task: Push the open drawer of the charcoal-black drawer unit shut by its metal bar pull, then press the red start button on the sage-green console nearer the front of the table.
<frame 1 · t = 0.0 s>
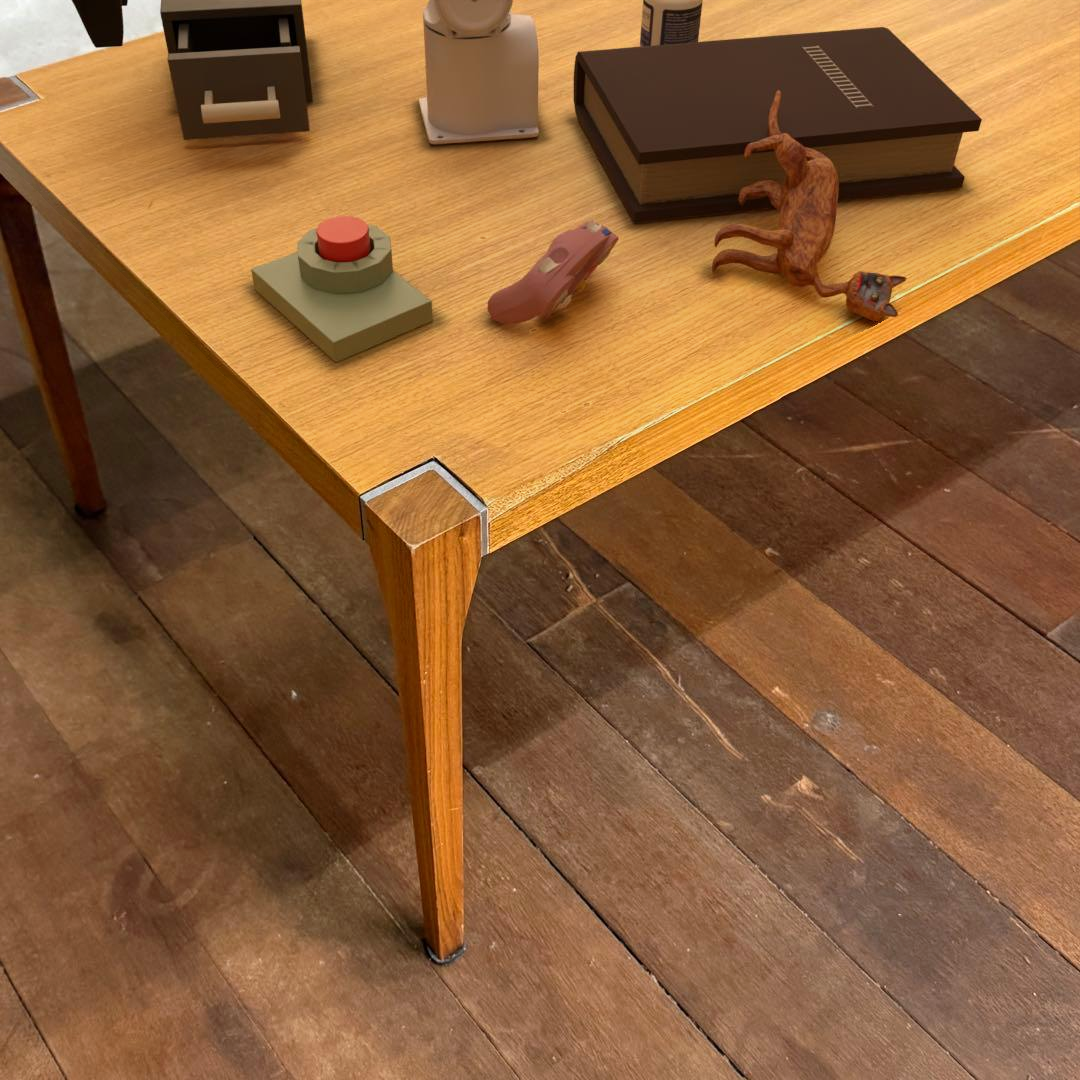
hand: (111, 24, 95), 10 cm above the table, tool pointing down, fingers open, 7 cm apart
pill bottle: (666, 69, 114), on the table
video game controller: (554, 303, 87), on the table
book: (758, 149, 103), on the table, touching cat figurine
console: (342, 304, 86), on the table
drawer: (240, 77, 101), point 4 cm above the table, slide at 6.0 cm
start button: (343, 240, 85), point 4 cm above the table, slide at 0.1 cm
cat figurine: (732, 181, 90), point 5 cm above the table, touching book
cabinet: (245, 75, 111), on the table
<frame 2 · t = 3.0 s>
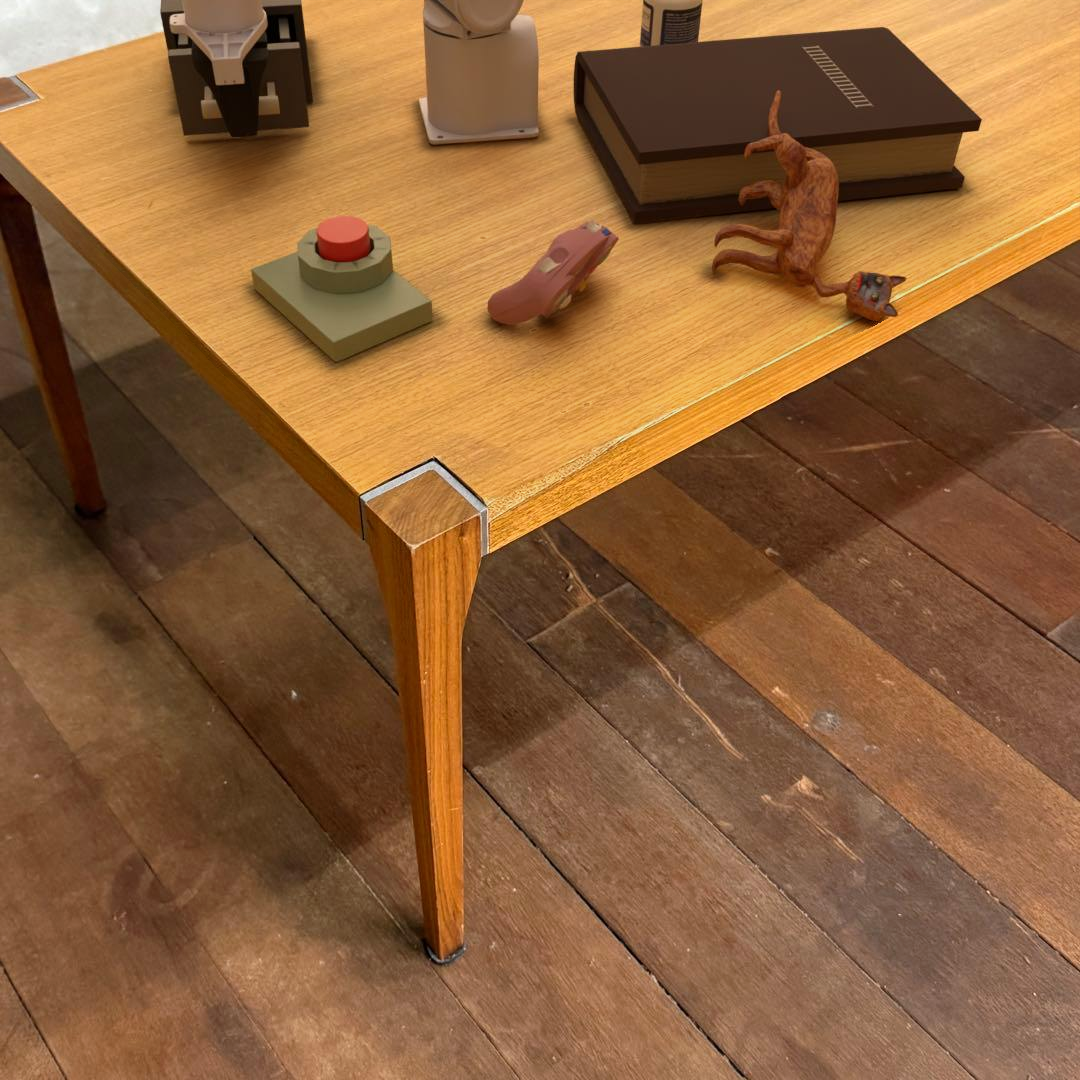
hand: (243, 133, 97), 3 cm above the table, tool pointing down, fingers closed
drawer: (240, 73, 102), point 4 cm above the table, slide at 5.2 cm, touching gripper
everything else where it was.
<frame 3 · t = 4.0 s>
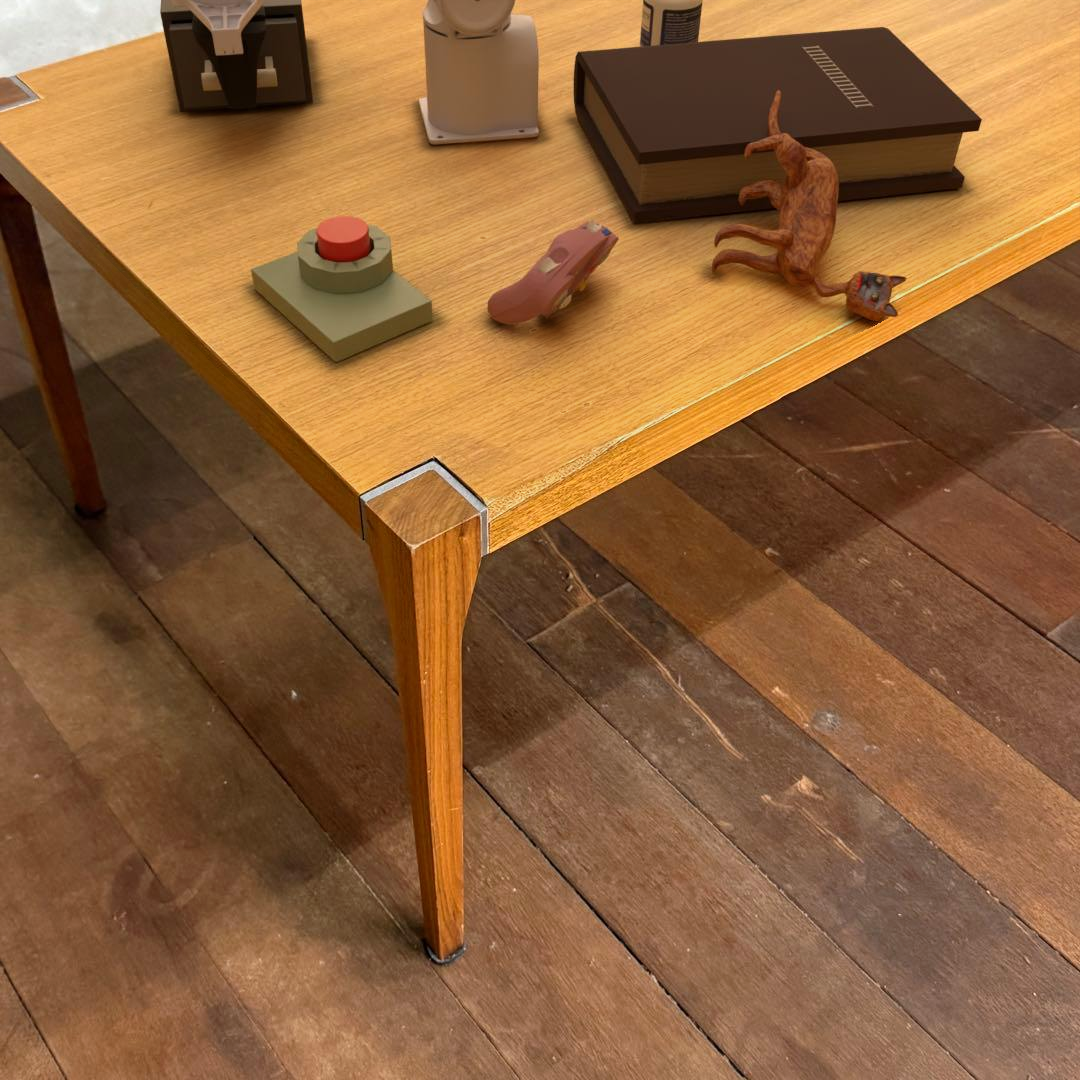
hand: (242, 104, 100), 3 cm above the table, tool pointing down, fingers closed, pressing on drawer
drawer: (239, 48, 105), point 4 cm above the table, slide at 0.2 cm, touching gripper
everything else where it was.
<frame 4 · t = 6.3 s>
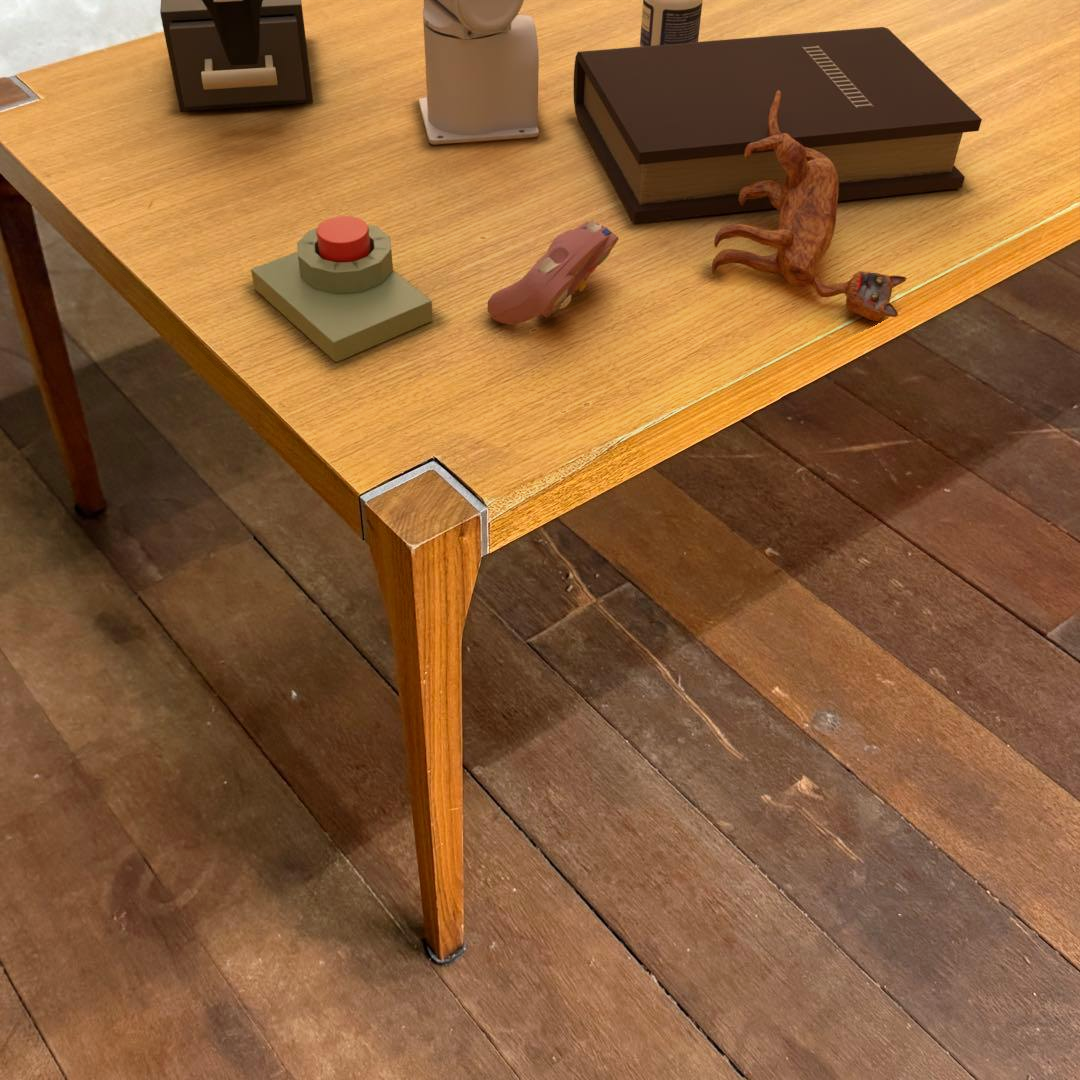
hand: (244, 61, 93), 9 cm above the table, tool pointing down, fingers closed
drawer: (239, 47, 106), point 4 cm above the table, slide at 0.0 cm, touching cabinet
everything else where it was.
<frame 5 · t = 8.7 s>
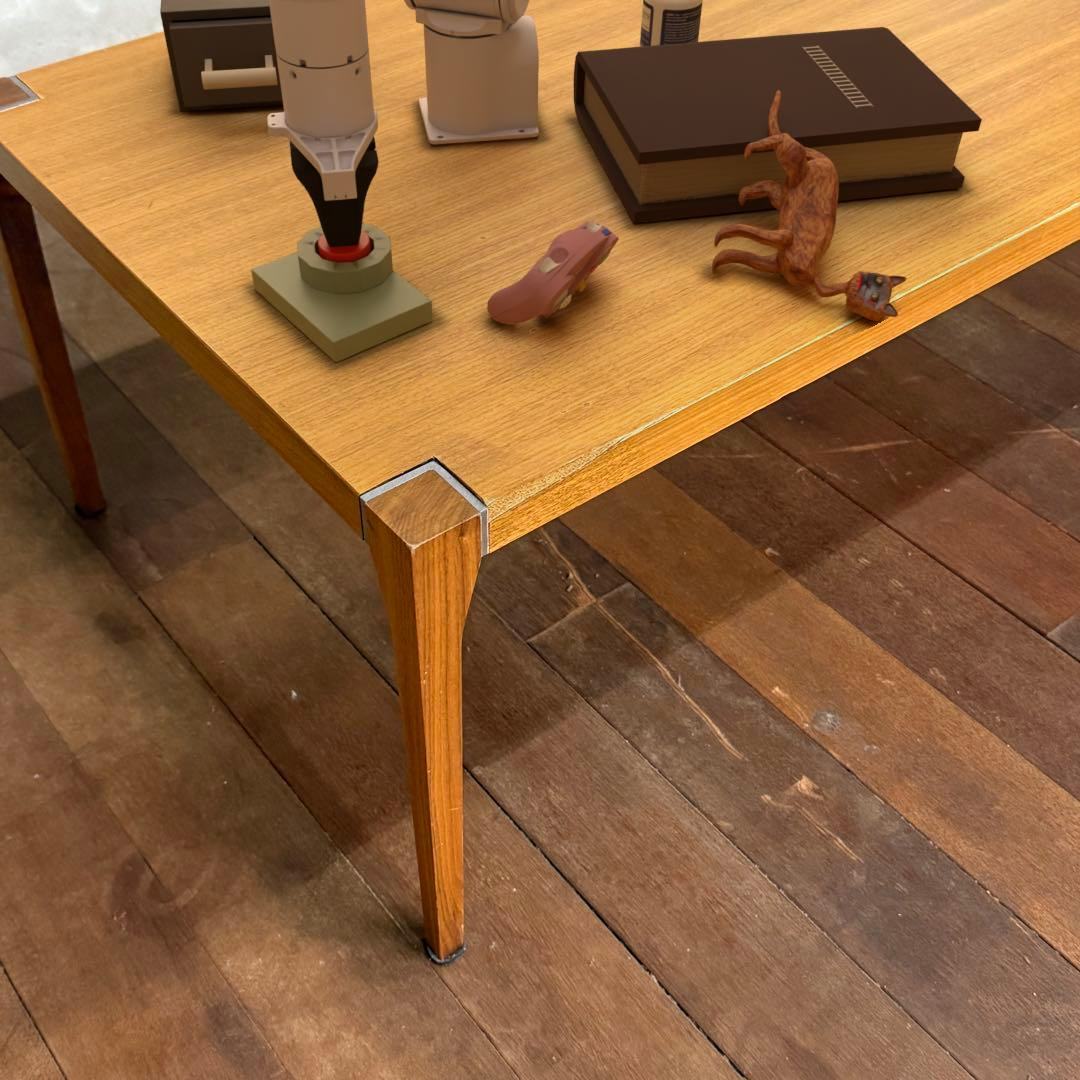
hand: (343, 241, 85), 4 cm above the table, tool pointing down, fingers closed, pressing on start button
start button: (344, 251, 85), point 3 cm above the table, slide at -0.8 cm, touching gripper
everything else where it was.
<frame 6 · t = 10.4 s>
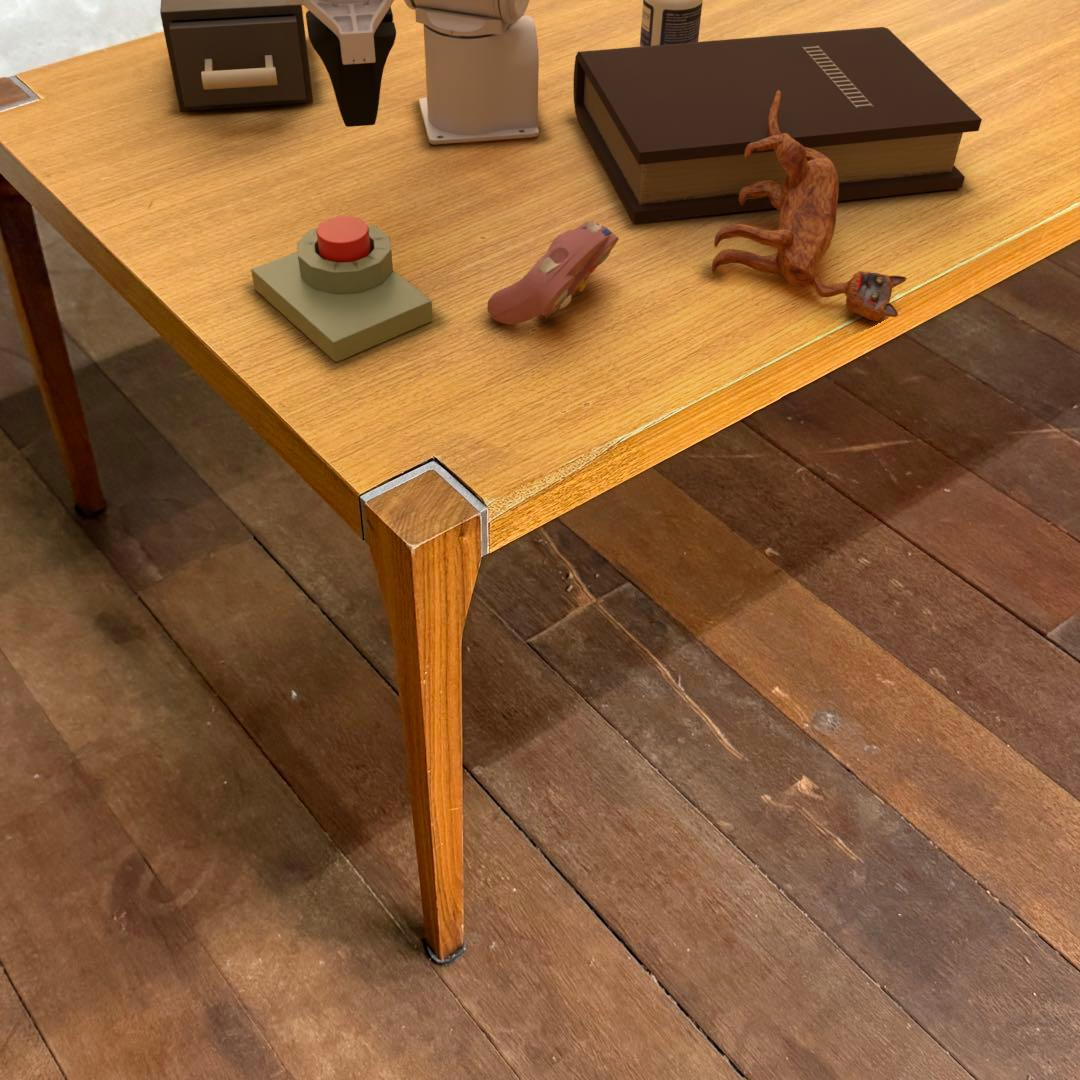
hand: (359, 121, 84), 10 cm above the table, tool pointing down, fingers closed
start button: (343, 240, 85), point 4 cm above the table, slide at 0.1 cm
everything else where it was.
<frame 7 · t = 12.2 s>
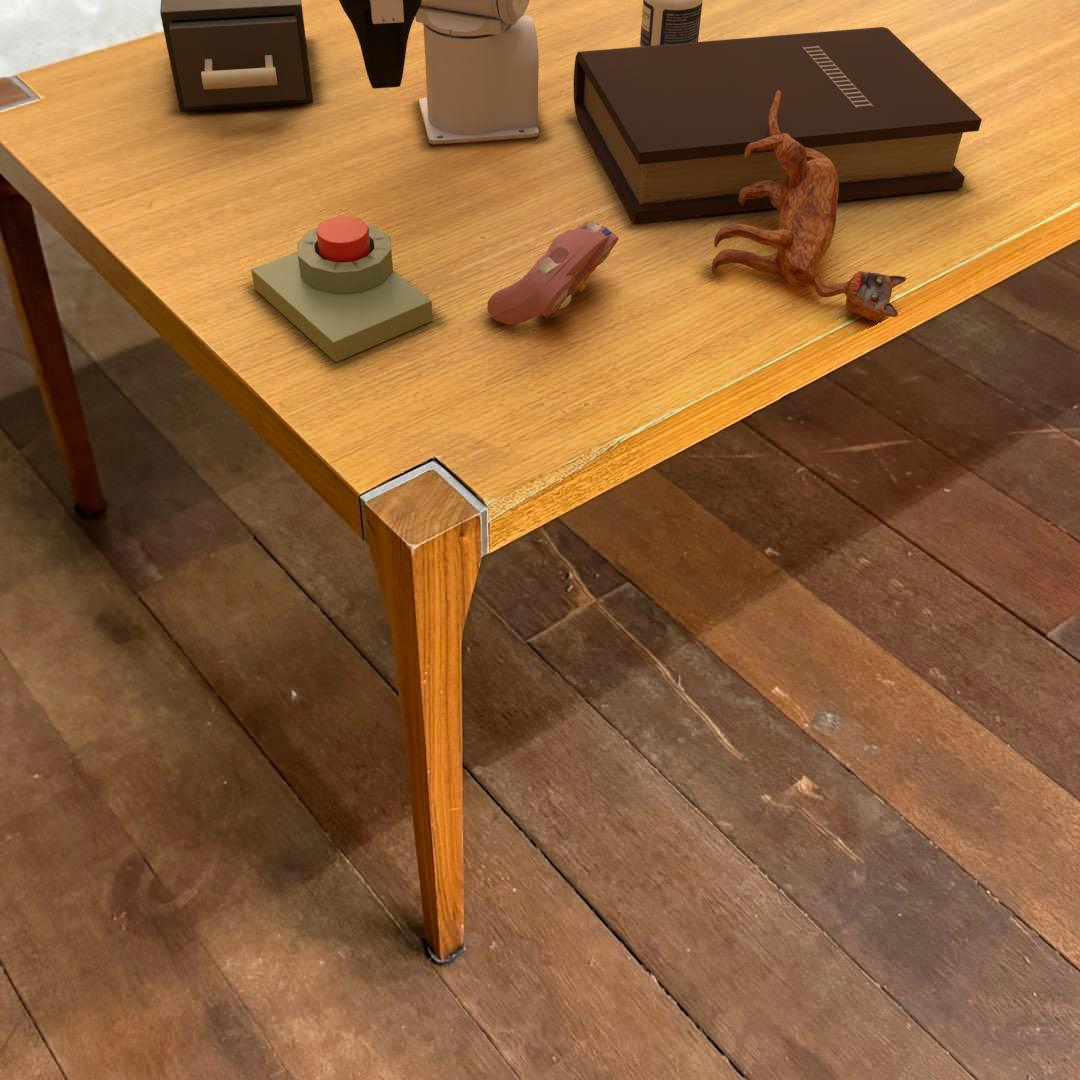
hand: (385, 83, 88), 10 cm above the table, tool pointing down, fingers closed
nothing on the table moved.
at the end: drawer slide at 0.0 cm; start button pushed in 1.2 cm at the most during the clip, back to where it started at the end; start button slide at 0.1 cm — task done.
